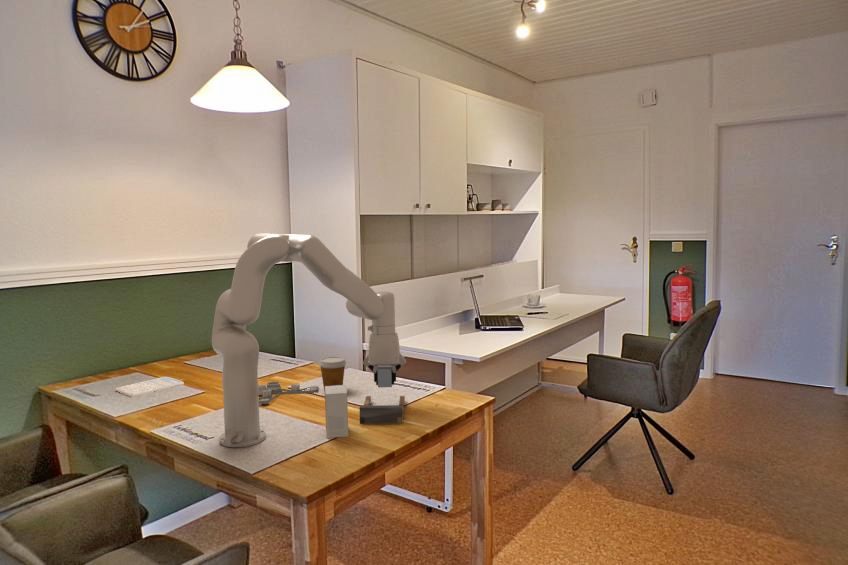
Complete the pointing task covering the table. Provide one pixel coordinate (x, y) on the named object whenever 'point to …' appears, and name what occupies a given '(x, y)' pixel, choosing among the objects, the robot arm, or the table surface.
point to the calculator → (149, 386)
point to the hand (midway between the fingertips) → (385, 383)
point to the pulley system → (276, 388)
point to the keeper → (384, 376)
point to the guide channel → (381, 412)
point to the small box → (336, 411)
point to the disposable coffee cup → (332, 371)
